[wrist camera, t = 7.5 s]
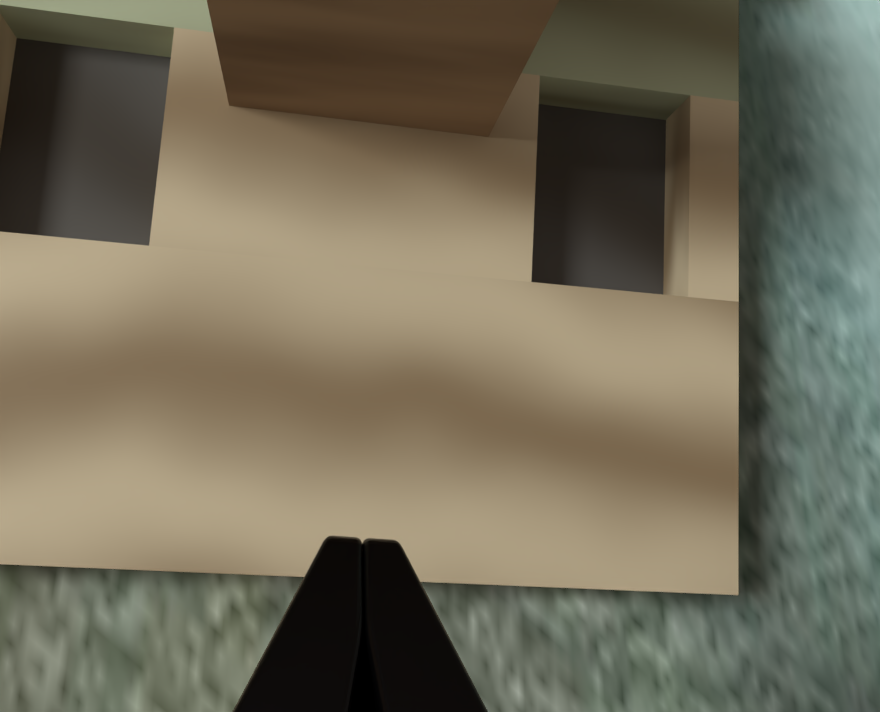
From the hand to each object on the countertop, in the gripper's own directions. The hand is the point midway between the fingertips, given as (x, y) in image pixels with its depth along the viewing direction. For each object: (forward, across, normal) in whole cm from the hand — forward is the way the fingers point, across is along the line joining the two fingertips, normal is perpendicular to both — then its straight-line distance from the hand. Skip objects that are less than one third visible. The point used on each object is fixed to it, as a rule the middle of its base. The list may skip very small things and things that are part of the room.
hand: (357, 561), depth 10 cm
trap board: (+16, 0, +4) cm, 16 cm away
